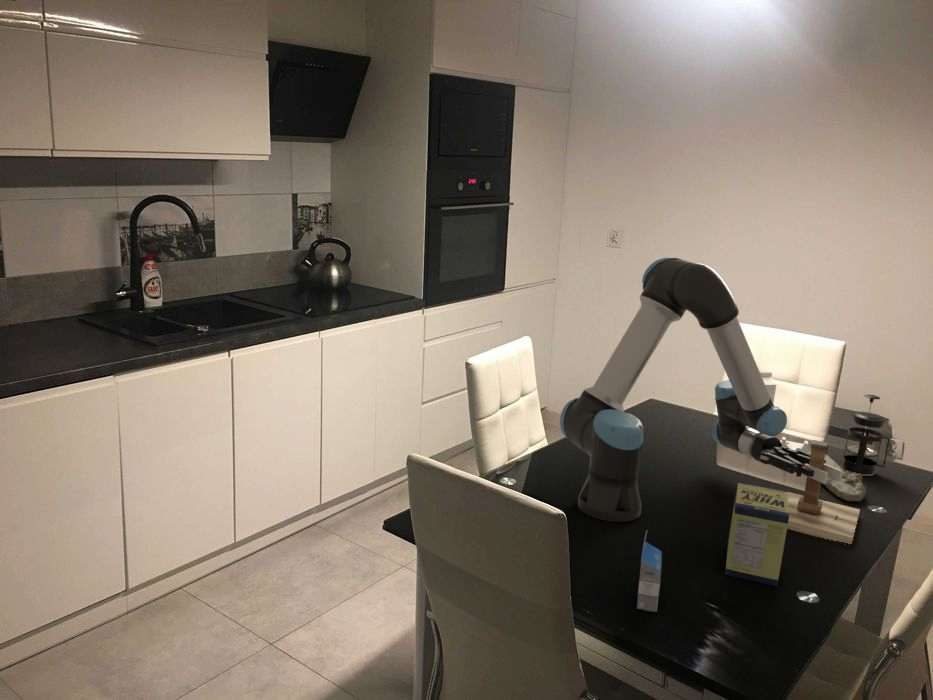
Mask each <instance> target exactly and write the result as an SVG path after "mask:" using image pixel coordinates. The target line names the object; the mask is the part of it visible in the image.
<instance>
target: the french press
mask: <svg viewBox="0 0 933 700" xmlns="http://www.w3.org/2000/svg"><path fill="white" fill-rule="evenodd" d="M863 396H864V397H865V398H867V399H869V403H870V404H869V408H868V412H867V411H852V412H851V416H852V418H853V420H854V422H855V423H856V425H859V426H862V427H859V426H854V427H852V426H851V427H849V428H848V432H847V436H846V440H845V441H846V442H845V447H844V452H843V456H842V464H841V465H840V467H843V468H844V469H845V470H848V471H851V472H856V473H861V474H872V473H875V472H876V473H877V467H879V468H884V467H885V465H886V460H887V454H888V449H889V444H890V439H891V438H890V436H885V435H883V434H882V432H880V431H877V430H873V429H871V428H877V429H878V428H879V429H880V428H882V427H883V426H884V422H886V417H885V416H882V415H880V414H876V413H873V412H871V410H872V404H873V403H874V401H875V400H881V397H880V396H877V395H874V394H864V395H863ZM855 432H856V433H855ZM858 432H859V433H861V434H858ZM869 435H872V436H869ZM849 436H850V437H852V438H854V439H857V440H859V445H854V444H853V445H848V440H849ZM883 439H886V440H887V444H886V447H885V448H886V449H885V453H884V460H883V464H882V463H879V462H878V461H879V457H880V451H881V445H882V442H883V441H882V440H883ZM868 442H872V443H873V442H874V443H877V442H879V447H878V451H876V450H874V449H872V448H869V447H867V445H868ZM846 451H847V452H849V453H850V454H846ZM875 457H877V458H876V461H875V460H874V459H871V458H875ZM855 463H856V464H855ZM865 465H866V466H865Z"/></svg>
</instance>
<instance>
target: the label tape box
mask: <svg viewBox="0 0 933 700" xmlns="http://www.w3.org/2000/svg"><path fill="white" fill-rule="evenodd" d="M648 531H649V530H648V529H647V530H646V531H645V536H644V540H643V544H642V550H641V557H640V558H641V559H640V569H639V582H638V589H637V590H638V591H637V603H636V609H637V610H642V611H647V612H654V613H655V612H656V613H657V612H658V605H659V603H658V602H659V597H660V596H659V595H660V588H661V587H660V586H661V579H662V578H661V574H662V565H663V564H662V560H663V551H662V550H661V549H659V548H657V547H655V546H653V544H650V543H649V542H647V541H646V539H647V535H648Z"/></svg>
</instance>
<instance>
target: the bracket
mask: <svg viewBox="0 0 933 700" xmlns="http://www.w3.org/2000/svg"><path fill="white" fill-rule="evenodd" d="M786 439H787V438H786V437H785V436H782V438H781V439H779V440H780V442H781V444H782V446H785V447H788V448H789V449H792V450H795V451H796V448H800V449H802V450H803V451H805V452H807V453H808V446H809V441H808V440H803V443H801V442H795V441H791V440H790V441H789V440H786Z"/></svg>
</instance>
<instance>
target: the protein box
mask: <svg viewBox="0 0 933 700" xmlns="http://www.w3.org/2000/svg"><path fill="white" fill-rule="evenodd" d="M787 492H788V490H786V489H785V490H784V489H780V488H775V487H769V486H763V485H759V484H752V483H748V482H743V481H737V486H736V493H735V498H734V504H733V510H732V517H731V521H730V528H729V534H728V540H727V541H728V542H727V551H726V559H725V560H726V562H725V572H724V575H725V576H727V577H728V576H729V577H734V578H738V579H742V580H746V581H747V580H748V581H752V582H756V583H759V584H765V585H768V586H769V585H770V586H773V587H777V586H778V582H779V577H780V571H781V566H782V559H783V554H784V548H785V543H786V538H787V533H788V532H787V531H788V529H787V526H788V521H789V510H788V496H787Z"/></svg>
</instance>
